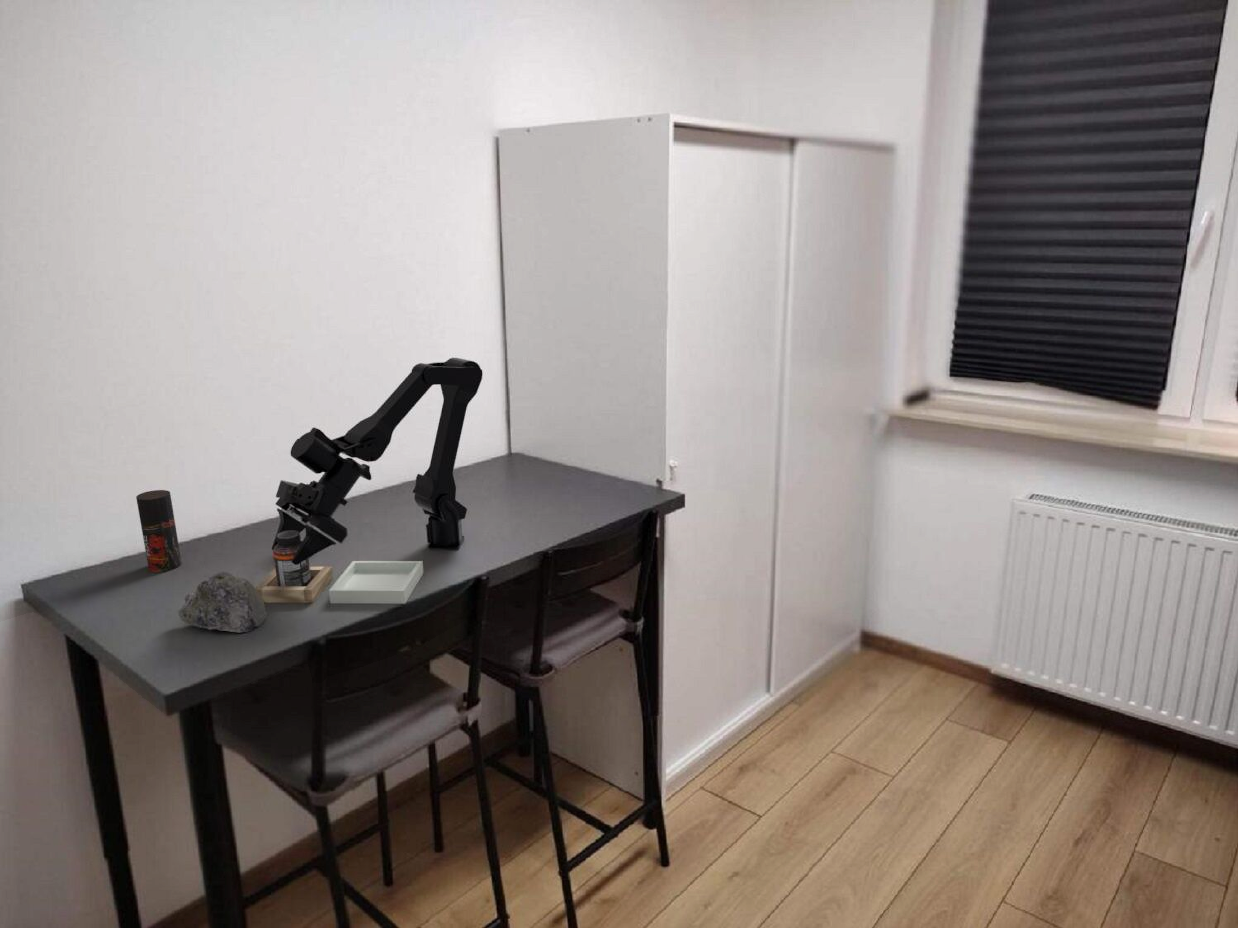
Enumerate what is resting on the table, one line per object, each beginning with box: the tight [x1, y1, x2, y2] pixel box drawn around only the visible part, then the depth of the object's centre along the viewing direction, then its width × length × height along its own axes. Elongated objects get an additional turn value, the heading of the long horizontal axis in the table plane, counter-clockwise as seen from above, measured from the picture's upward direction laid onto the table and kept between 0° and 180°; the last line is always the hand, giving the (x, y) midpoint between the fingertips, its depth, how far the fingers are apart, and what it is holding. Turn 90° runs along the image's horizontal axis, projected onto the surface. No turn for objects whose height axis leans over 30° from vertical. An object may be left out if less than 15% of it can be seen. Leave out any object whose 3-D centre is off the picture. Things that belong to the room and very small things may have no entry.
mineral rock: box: [178, 571, 267, 634], centre depth 152 cm, size 13×11×10 cm
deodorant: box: [135, 489, 182, 573], centre depth 176 cm, size 6×6×15 cm
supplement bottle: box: [272, 530, 311, 587], centre depth 165 cm, size 6×6×11 cm
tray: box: [328, 560, 424, 605], centre depth 166 cm, size 14×14×2 cm
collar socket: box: [255, 566, 334, 604], centre depth 166 cm, size 11×11×2 cm
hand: (283, 557), depth 163 cm, fingers open, 8 cm apart
